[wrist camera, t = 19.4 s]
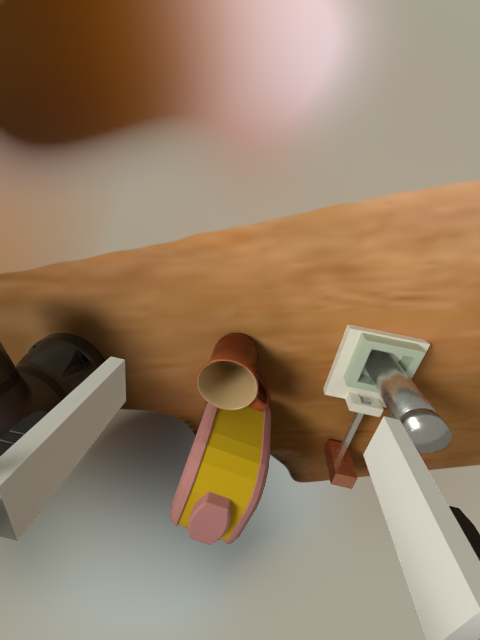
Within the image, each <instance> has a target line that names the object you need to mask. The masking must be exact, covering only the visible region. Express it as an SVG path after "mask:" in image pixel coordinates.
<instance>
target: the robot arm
mask: <svg viewBox="0 0 480 640" xmlns="http://www.w3.org/2000/svg"><path fill="white" fill-rule="evenodd" d="M125 402H126V380H125V360H124V359H120V358H115V357H110V358H108V359H107V360H106V361H104V359H103V358H102V356H101V355H100V354H99V352H98V351H97V350H96V349H95V348H94V347H93V346H91V345H90V344H89V343H87V342H86V341H84V340H83V339H81V338H78V337H76V336H73V335H70V334H64V333H56V334H51V335H49V336H47V337H45V338H43V339H41V340H40V341H38V342H37V343H35V344H34V345H33V346H32V347H31V349H30V350H29V352H28V353H27V354H26V355H25V356H24V357H23V358H22V359H21V361H20V362H19V363H18V364H17V365H16V367H15V366H14V364H13V362H12V361H11V359H10V357H9V356H8V354H7V352H6V350H5V349H4V347H3V345H2V343H1V342H0V536H2V537H5V538H9V539H13V540H16V541H18V540H19V538H20V537H21V536H22V535H23V533H24V532H25V531H26V529H27V528H28V526H29V525H30V524H31V523H32V522H33V520H34V519H35V518H36V516H37V515H38V514H39V513H40V511H41V510H42V509H43V507H44V506H45V505H46V504H47V502H48V501H49V500H50V498H51V497H52V496H53V495H54V493H55V492H56V491H57V489H58V488H59V487H60V486H61V484H62V483H63V482H64V480H65V479H66V478H67V476H68V475H69V474H70V473H71V471H72V470H73V469H74V467H75V466H76V465H77V463H78V462H79V461H80V460H81V458H82V457H83V456H84V455H85V453H86V452H87V450H88V449H89V448H90V447H91V445H92V444H93V443H94V442H95V440H96V439H97V438H98V436H99V435H100V434H101V433H102V431H103V430H104V429H105V427H106V426H107V425H108V423H109V422H110V421H111V419H112V418H113V417H114V416H115V414H116V413H117V412H118V411H119V409H120V408H121V407H122V405H123V404H124V403H125ZM363 456H364V458H365V461H366V464H367V467H368V470H369V473H370V476H371V479H372V482H373V485H374V488H375V491H376V494H377V497H378V499H379V502H380V505H381V508H382V511H383V514H384V517H385V520H386V523H387V526H388V529H389V532H390V535H391V538H392V540H393V543H394V546H395V549H396V552H397V555H398V558H399V561H400V564H401V567H402V570H403V573H404V576H405V579H406V581H407V584H408V587H409V590H410V593H411V596H412V599H413V602H414V605H415V608H416V611H417V613H418V617H419V620H420V623H421V626H422V628H423V631H424V634H425V637H426V640H480V535H479V533H478V531H477V529H476V528H475V526H474V525H473V524H472V522H471V521H470V520H469V519H468V518H467V517H466V516H465V515H464V514H463V512H462V511H461V510H460V509H459V508H455V507H451V506H448V504H447V502H446V501H445V499H444V497H443V495H442V494H441V492H440V490H439V488H438V486H437V485H436V483H435V481H434V479H433V478H432V476H431V474H430V472H429V471H428V469H427V467H426V465H425V464H424V462H423V460H422V458H421V456H420V455H419V453H418V451H417V449H416V448H415V446H414V444H413V442H412V441H411V439H410V437H409V435H408V434H407V432H406V430H405V428H404V426H403V425H402V423H401V421H400V420H398V419H393V418H389V417H383V419H382V421H381V423H380V424H379V426H378V428H377V430H376V432H375V434H374V436H373V438H372V439H371V441H370V443H369V445H368V447H367V449H366V451H365V453H364V454H363Z"/></svg>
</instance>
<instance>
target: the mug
mask: <svg viewBox="0 0 480 640" xmlns="http://www.w3.org/2000/svg"><path fill="white" fill-rule="evenodd" d="M257 361H258V354H257V349H256V345H255V343H254V342H253V341H252V340H251V339H250V338H249V337H248V336H246V335H244V334H241V333H230V334H227V335H225V336H224V337H222V338H221V339H220V340H219V341H218V343H217V344H216V345H215V347H214V350H213V353H212V355H211V358H210V361H209V362H207V363H206V364H205V365H204V366H203V367H202V368H201V369H200V371H199V372H198V375H197V380H196V383H197V388H198V391H199V393H200V394H201V396H202V397H203V398H204V399H205V400H206V401H207V402H208V403H209V404H211V405H213V406H215V407H217V408H220V409H223V410H240V409H243V408H245V407H247V406H250V407H253V408H254V409H256V410H257V411H264V410H265V409H267V408H268V407H269V404H270V396H269V392H268V389H267V387H266V385H265V383H264V382H263V380H262V379H261V377H260V375H259V374H258V373H257V372H256V366H257ZM258 390H259V393H260V397H261V401H260V399H259V398H258V396H257V394H258Z"/></svg>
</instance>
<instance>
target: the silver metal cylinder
mask: <svg viewBox="0 0 480 640" xmlns="http://www.w3.org/2000/svg"><path fill="white" fill-rule="evenodd" d="M364 366H365V368H366V370H367V372H368V374H369V376H370V378H371V379H372V381H373V383H374V385H375V387H376V389H377V391H378V393H379V394H380V396H381V398H382V400H383V402H384V404H385V406H386V407H387V409H388V411H389V413H390V415H391V417H392V418H393V419H398V420H400V421H401V423H402V425H403V426H404V428H405V430H406V432H407V434H408V435H409V437H410V439H411V441H412V442H413V444H414V446H415V448H416V449H417V451H418V452H420V453H432V452H436V451H439V450H441V449H443V448H444V447H446V446H447V445H448V444H449V442H450V441H451V438H452V434H451V431H450V430H449V428H448V427H447V426H446V424H445V423H444V421H443V420H442V419H441V418H440V416H439V415H438V414H437V413H436V411H435V410H434V409H433V407H432V406H431V405H430V403H429V402H428V401H427V400H426V398H425V397H424V396H423V394H422V393H421V392H420V390H419V389H418V388H417V386H416V385H415V384H414V383H413V381H412V380H411V379H410V377H409V376H408V375H407V373H406V372H405V371H404V369H403V368H402V367H401V366H400V364H399V363H398V362H397V360H396V359H395V358H394V356H393V355H392V354H391V353H389V352H384V351H379V350H372V351H371V352H370V354H369V356H368V358H367V361H366V363H365V365H364Z"/></svg>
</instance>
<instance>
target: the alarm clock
mask: <svg viewBox="0 0 480 640" xmlns="http://www.w3.org/2000/svg"><path fill="white" fill-rule="evenodd" d="M270 435H271V411H270V409H269V407H268V408H267V409H265V410H264V411H257V410H256V409H254V408H253V407H250V406H247V407H245V408H243V409H240V410H223V409H220V408H217V407H215V406H213V405H211V404H209V403H207V406H206V409H205V412H204V415H203V417H202V420H201V423H200V426H199V429H198V431H197V434H196V437H195V440H194V443H193V446H192V448H191V451H190V454H189V457H188V460H187V462H186V465H185V468H184V471H183V474H182V476H181V479H180V482H179V485H178V488H177V490H176V493H175V496H174V499H173V502H172V505H171V513H170V516H171V519H172V522H173V523H174V525H175V526H176V525H177V524H179V525H182V526H184V527H188V530H189V535H190V538H192V539H194V540H198V541H201V542H203V543H206V544H209V545H210V544H212V543H214V542H215V541H217V540H219V539H222V540H224V541H225V543H226V544H230V543H232V542H233V541H234V540H236V539H237V538H238V537H239V535H240V534H241V532H242V531H243V529H244V527H245V526H246V524H247V523H248V521H249V519H250V518H251V516H252V514H253V513H254V511H255V510H256V508H257V505H258V503H259V501H260V499H261V496H262V493H263V489H264V486H265V482H266V478H267V473H268V468H269V458H270Z"/></svg>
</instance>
